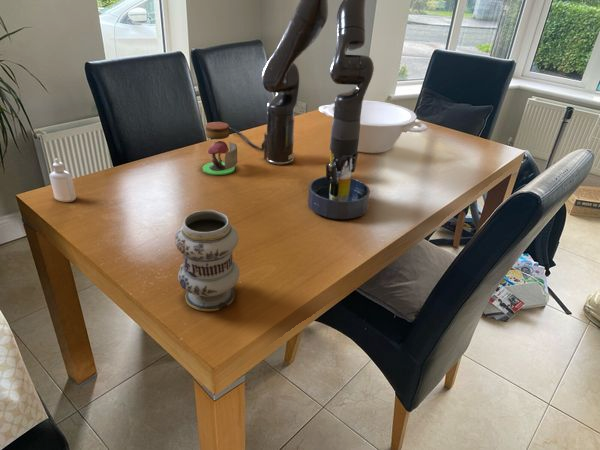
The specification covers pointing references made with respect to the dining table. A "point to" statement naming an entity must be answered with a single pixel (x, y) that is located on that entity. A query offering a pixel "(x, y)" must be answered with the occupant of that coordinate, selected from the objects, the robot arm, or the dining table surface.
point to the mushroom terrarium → (220, 150)
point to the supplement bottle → (342, 186)
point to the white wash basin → (381, 125)
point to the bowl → (338, 209)
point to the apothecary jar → (207, 260)
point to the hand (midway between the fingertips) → (339, 191)
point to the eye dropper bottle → (62, 183)
